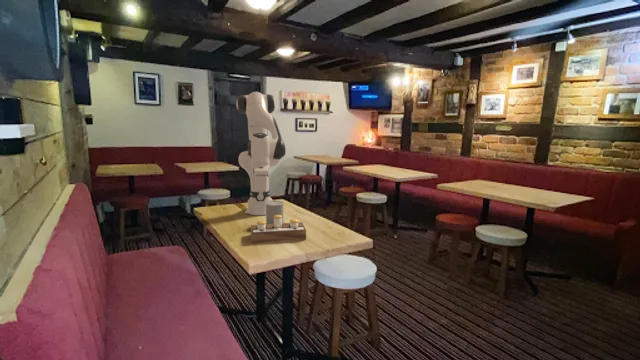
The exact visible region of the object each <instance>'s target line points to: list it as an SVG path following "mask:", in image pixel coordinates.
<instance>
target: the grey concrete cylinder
mask: <svg viewBox="0 0 640 360" xmlns="http://www.w3.org/2000/svg"><path fill="white" fill-rule="evenodd" d="M274 215H282V223H284V202H283V201H280V200H272V201H270V202H267V203H266V215H265V216H266V217H265V218H266V219H265V221H266V224H274Z"/></svg>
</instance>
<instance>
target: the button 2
mask: <svg viewBox="0 0 640 360" xmlns="http://www.w3.org/2000/svg"><path fill="white" fill-rule="evenodd" d="M289 223H290V228H298V223H299V219H297V218H291V219H290V220H289Z"/></svg>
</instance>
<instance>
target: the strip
mask: <svg viewBox="0 0 640 360" xmlns="http://www.w3.org/2000/svg"><path fill="white" fill-rule="evenodd" d="M290 230H304V228H303V227H298V228H278V229H260V230H253V233H254V232H272V231H290Z"/></svg>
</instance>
